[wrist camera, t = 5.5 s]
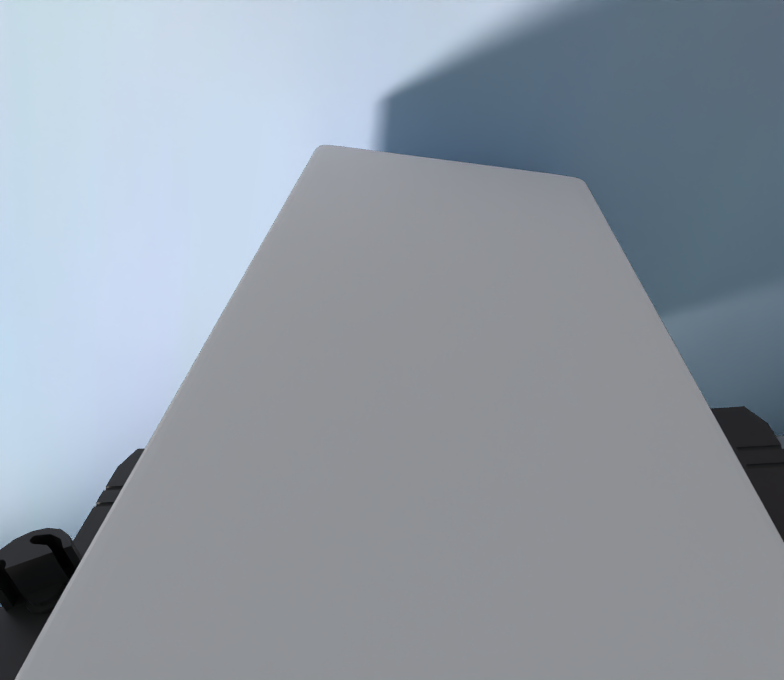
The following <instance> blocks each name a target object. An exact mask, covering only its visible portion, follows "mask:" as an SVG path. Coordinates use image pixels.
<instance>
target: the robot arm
mask: <svg viewBox="0 0 784 680" xmlns="http://www.w3.org/2000/svg"><path fill="white" fill-rule="evenodd" d="M711 411H712V413H713V415H714V417H715V418H716V420H717V422H718V424H719V426H720V427H721V429H722V431H723V433H724V435H725V436H726V438H727V440H728V442H729V444H730V446H731V447H732V449H733V451H734V453H735V455H736V456H737V458H738V460H739V462H740V464H741V466H742V467H743V469H744V471H745V473H746V475H747V476H748V478H749V480H750V482H751V484H752V485H753V487H754V489H755V491H756V493H757V495H758V496H759V498H760V500H761V502H762V504H763V505H764V507H765V509H766V511H767V513H768V514H769V516H770V518H771V520H772V522H773V524H774V525H775V527H776V529H777V531H778V533H779V534H780V536H781V538H782V540H783V542H784V449H782V447H781V443H780V442H779V440H778V439H777V437H776V436H775V434H774V432H773V431H772V429H771V428H770V426H769V425H768V424H767V423H766V422H765V421H763V420H762V419H761V418H759V417H758V416H757V415H755V414H754V413H752V412H751V411H750V410H748V409H747V408H746V407H729V408H714V409H711ZM143 451H144V449H137V450H136V451H135V452H134V453H133V454H131V455H130V456H129V457H128V458H127V459H126V460H125V461H124V462H123V463H122V464H120V465H119V466H118V467H117V469H116V471H115V472H114V474H113V476H112V477H111V479H110V481H109V482H108V484H107V486H106V490H105V491H103V492H102V494H101V496H100V497H99V499H98V501H97V502H96V504H97V505H96V507H93V509H92V511H91V512H90V514H89V516H88V517H87V519H86V521H85V522H84V524H83V526H82V527H81V529H80V531H79V532H78V534H77V536H76V537H75V539H74V541H72V540H71V538H70V536H69V535H68V534H66V533H65V532H64V531H62V530H61V529H53V528H45V529H41V530H36V531H32V532H30V533H27V534H25V535H23V536H21V537H19V538H17V539H15V540H13V541H12V542H11V543H9V544H8V545H6V546H5V547H4V548H2V549H1V550H0V603H1V605H2V607H0V680H15V678H16V676H17V674H18V673H19V671H20V669H21V667H22V665H23V663H24V662H25V660H26V658H27V656H28V654H29V653H30V651H31V649H32V647H33V645H34V643H35V642H36V640H37V638H38V636H39V634H40V633H41V631H42V629H43V627H44V625H45V624H46V622H47V620H48V618H49V617H50V615H51V613H52V611H53V609H54V608H55V606H56V604H57V602H58V601H59V599H60V597H61V595H62V593H63V592H64V590H65V588H66V586H67V585H68V583H69V581H70V579H71V578H72V576H73V574H74V572H75V571H76V569H77V567H78V565H79V563H80V562H81V560H82V558H83V556H84V555H85V553H86V551H87V549H88V548H89V546H90V544H91V542H92V541H93V539H94V537H95V535H96V534H97V532H98V530H99V528H100V527H101V525H102V523H103V521H104V520H105V518H106V516H107V514H108V513H109V511H110V509H111V507H112V506H113V504H114V502H115V500H116V498H117V497H118V495H119V493H120V491H121V490H122V488H123V486H124V484H125V483H126V481H127V479H128V477H129V476H130V474H131V472H132V470H133V469H134V467H135V465H136V463H137V462H138V460H139V458H140V456H141V455H142V453H143Z"/></svg>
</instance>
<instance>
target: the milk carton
mask: <svg viewBox="0 0 784 680" xmlns="http://www.w3.org/2000/svg"><path fill="white" fill-rule="evenodd" d="M15 680H784V542H783V540H782V538H781V536H780V534H779V533H778V531H777V529H776V527H775V525H774V524H773V522H772V520H771V518H770V516H769V514H768V513H767V511H766V509H765V507H764V505H763V504H762V502H761V500H760V498H759V496H758V495H757V493H756V491H755V489H754V487H753V485H752V484H751V482H750V480H749V478H748V476H747V475H746V473H745V471H744V469H743V467H742V466H741V464H740V462H739V460H738V458H737V456H736V455H735V453H734V451H733V449H732V447H731V446H730V444H729V442H728V440H727V438H726V436H725V435H724V433H723V431H722V429H721V427H720V426H719V424H718V422H717V420H716V418H715V417H714V415H713V413H712V411H711V409H710V407H709V406H708V404H707V402H706V400H705V398H704V397H703V395H702V393H701V391H700V389H699V388H698V386H697V384H696V382H695V380H694V378H693V377H692V375H691V373H690V371H689V369H688V368H687V366H686V364H685V362H684V360H683V359H682V357H681V355H680V353H679V351H678V349H677V348H676V346H675V344H674V342H673V340H672V339H671V337H670V335H669V333H668V331H667V330H666V328H665V326H664V324H663V322H662V320H661V319H660V317H659V315H658V313H657V311H656V310H655V308H654V306H653V304H652V302H651V300H650V299H649V297H648V295H647V293H646V291H645V290H644V288H643V286H642V284H641V282H640V281H639V279H638V277H637V275H636V273H635V271H634V270H633V268H632V266H631V264H630V262H629V261H628V259H627V257H626V255H625V253H624V252H623V250H622V248H621V246H620V244H619V242H618V241H617V239H616V237H615V235H614V233H613V232H612V230H611V228H610V226H609V224H608V223H607V221H606V219H605V217H604V215H603V213H602V212H601V210H600V208H599V206H598V204H597V203H596V201H595V199H594V197H593V195H592V193H591V192H590V190H589V188H588V186H587V185H586V183H585V182H584V181H583V180H581V179H579V178H575V177H570V176H564V175H557V174H549V173H542V172H534V171H527V170H519V169H511V168H504V167H496V166H488V165H481V164H473V163H465V162H458V161H450V160H442V159H435V158H427V157H419V156H412V155H404V154H396V153H389V152H381V151H373V150H366V149H358V148H350V147H342V146H333V145H321V146H319V147H317V148H316V149H315V151H314V153H313V155H312V156H311V158H310V160H309V162H308V163H307V165H306V167H305V169H304V170H303V172H302V174H301V176H300V177H299V179H298V181H297V183H296V184H295V186H294V188H293V190H292V191H291V193H290V195H289V197H288V198H287V200H286V202H285V204H284V205H283V207H282V209H281V211H280V212H279V214H278V216H277V218H276V219H275V221H274V223H273V225H272V226H271V228H270V230H269V232H268V233H267V235H266V237H265V239H264V241H263V242H262V244H261V246H260V248H259V249H258V251H257V253H256V255H255V256H254V258H253V260H252V262H251V263H250V265H249V267H248V269H247V270H246V272H245V274H244V276H243V277H242V279H241V281H240V283H239V284H238V286H237V288H236V290H235V291H234V293H233V295H232V297H231V298H230V300H229V302H228V304H227V305H226V307H225V309H224V311H223V312H222V314H221V316H220V318H219V319H218V321H217V323H216V325H215V327H214V328H213V330H212V332H211V334H210V335H209V337H208V339H207V341H206V342H205V344H204V346H203V348H202V349H201V351H200V353H199V355H198V356H197V358H196V360H195V362H194V363H193V365H192V367H191V369H190V370H189V372H188V374H187V376H186V377H185V379H184V381H183V383H182V384H181V386H180V388H179V390H178V391H177V393H176V395H175V397H174V398H173V400H172V402H171V404H170V405H169V407H168V409H167V411H166V413H165V414H164V416H163V418H162V420H161V421H160V423H159V425H158V427H157V428H156V430H155V432H154V434H153V435H152V437H151V439H150V441H149V442H148V444H147V446H146V448H145V449H144V451H143V453H142V455H141V456H140V458H139V460H138V462H137V463H136V465H135V467H134V469H133V470H132V472H131V474H130V476H129V477H128V479H127V481H126V483H125V484H124V486H123V488H122V490H121V491H120V493H119V495H118V497H117V498H116V500H115V502H114V504H113V506H112V507H111V509H110V511H109V513H108V514H107V516H106V518H105V520H104V521H103V523H102V525H101V527H100V528H99V530H98V532H97V534H96V535H95V537H94V539H93V541H92V542H91V544H90V546H89V548H88V549H87V551H86V553H85V555H84V556H83V558H82V560H81V562H80V563H79V565H78V567H77V569H76V571H75V572H74V574H73V576H72V578H71V579H70V581H69V583H68V585H67V586H66V588H65V590H64V592H63V593H62V595H61V597H60V599H59V601H58V602H57V604H56V606H55V608H54V609H53V611H52V613H51V615H50V617H49V618H48V620H47V622H46V624H45V625H44V627H43V629H42V631H41V633H40V634H39V636H38V638H37V640H36V642H35V643H34V645H33V647H32V649H31V651H30V653H29V654H28V656H27V658H26V660H25V662H24V663H23V665H22V667H21V669H20V671H19V673H18V674H17V676H16V678H15Z"/></svg>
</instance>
